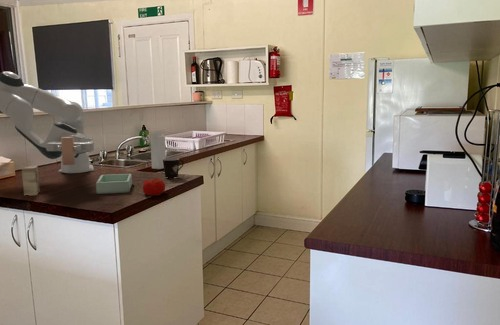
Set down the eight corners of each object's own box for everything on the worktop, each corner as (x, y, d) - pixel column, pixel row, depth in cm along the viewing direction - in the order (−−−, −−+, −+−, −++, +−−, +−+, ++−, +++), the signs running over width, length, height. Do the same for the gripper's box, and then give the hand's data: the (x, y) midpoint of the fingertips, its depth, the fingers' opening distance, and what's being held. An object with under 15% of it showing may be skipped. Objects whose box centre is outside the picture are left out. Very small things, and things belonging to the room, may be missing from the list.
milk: (151, 168, 243) (149, 131, 240) (158, 166, 249) (157, 130, 245) (159, 169, 240) (157, 131, 237) (166, 167, 246) (164, 130, 242)
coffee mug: (164, 180, 211) (164, 160, 210) (161, 176, 219) (161, 158, 217) (187, 178, 215) (186, 159, 214) (183, 175, 223) (183, 157, 222)
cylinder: (64, 163, 186) (62, 136, 184) (75, 163, 187) (74, 136, 185) (61, 165, 181) (59, 138, 179) (73, 165, 182) (72, 138, 180)
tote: (102, 184, 200) (101, 174, 200) (131, 183, 203) (131, 173, 202) (96, 193, 183) (95, 182, 182) (129, 192, 186) (128, 181, 185)
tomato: (143, 198, 176) (142, 183, 175) (142, 192, 186) (141, 178, 185) (166, 196, 179) (166, 181, 178) (164, 190, 189) (163, 176, 188)
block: (27, 193, 185) (25, 166, 183) (39, 192, 186) (37, 166, 184) (24, 195, 180) (21, 168, 178) (36, 195, 181) (34, 168, 179)
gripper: (49, 138, 193) (41, 141, 179) (96, 138, 197) (91, 141, 184) (50, 151, 194) (42, 156, 180) (96, 151, 198) (91, 155, 185)
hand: (67, 148), depth 182 cm, fingers closed on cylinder, 5 cm apart
